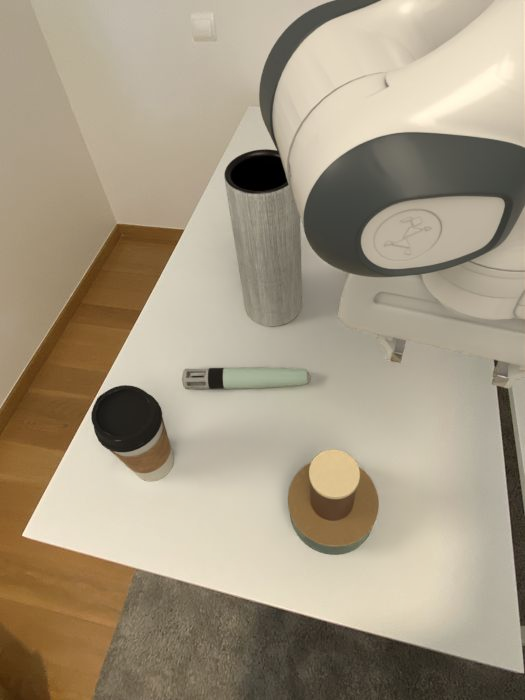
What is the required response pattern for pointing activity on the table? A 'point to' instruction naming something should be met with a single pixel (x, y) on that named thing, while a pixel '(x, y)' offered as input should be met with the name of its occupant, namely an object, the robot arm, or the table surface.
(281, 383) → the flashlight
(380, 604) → the table surface
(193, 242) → the table surface
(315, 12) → the robot arm
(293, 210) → the vase
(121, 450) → the coffee cup
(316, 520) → the coffee tin
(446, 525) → the table surface
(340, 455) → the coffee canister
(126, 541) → the table surface
